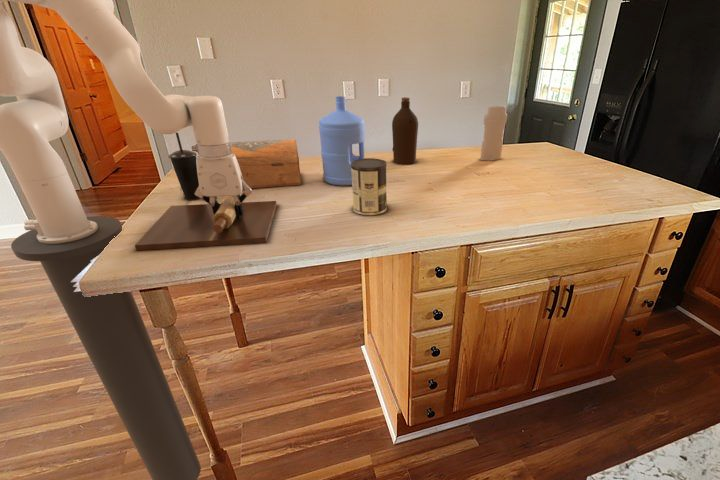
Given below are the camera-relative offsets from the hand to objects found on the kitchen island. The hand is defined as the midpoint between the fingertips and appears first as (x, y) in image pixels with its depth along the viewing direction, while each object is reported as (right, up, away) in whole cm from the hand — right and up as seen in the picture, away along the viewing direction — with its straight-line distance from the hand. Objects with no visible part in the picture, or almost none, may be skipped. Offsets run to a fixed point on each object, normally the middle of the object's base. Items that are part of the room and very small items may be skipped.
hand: (229, 217), depth 107 cm
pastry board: (-4, -2, 0) cm, 5 cm away
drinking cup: (-20, +9, +19) cm, 29 cm away
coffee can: (+37, +4, +12) cm, 40 cm away
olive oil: (+48, +31, +59) cm, 83 cm away
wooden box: (-4, +17, +34) cm, 38 cm away
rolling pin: (0, +2, -1) cm, 2 cm away
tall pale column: (+86, +33, +64) cm, 113 cm away
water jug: (+26, +18, +37) cm, 49 cm away
